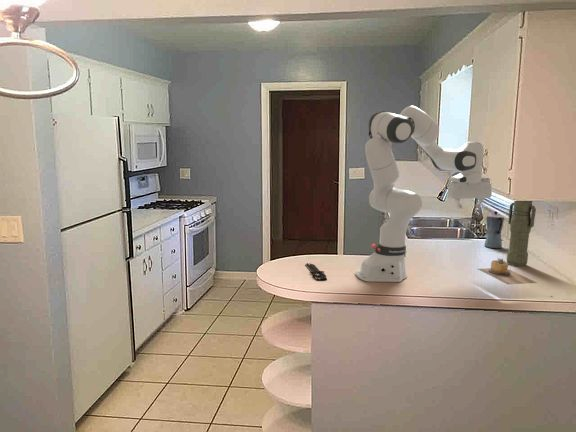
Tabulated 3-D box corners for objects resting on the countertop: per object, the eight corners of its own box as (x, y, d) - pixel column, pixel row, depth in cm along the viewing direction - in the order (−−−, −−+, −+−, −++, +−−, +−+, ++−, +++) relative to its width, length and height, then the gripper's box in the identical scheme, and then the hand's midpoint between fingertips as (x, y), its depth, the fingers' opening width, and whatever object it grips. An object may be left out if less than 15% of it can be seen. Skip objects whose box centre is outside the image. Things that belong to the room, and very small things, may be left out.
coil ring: (496, 273, 213) (497, 264, 212) (488, 269, 219) (488, 260, 218) (510, 272, 214) (511, 264, 213) (501, 268, 220) (501, 260, 220)
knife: (304, 264, 231) (304, 261, 231) (318, 264, 232) (318, 261, 232) (313, 281, 206) (313, 278, 205) (328, 281, 206) (328, 278, 206)
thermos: (525, 271, 224) (533, 196, 217) (500, 265, 232) (507, 193, 226) (533, 267, 229) (541, 195, 223) (508, 262, 238) (515, 192, 232)
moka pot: (495, 243, 276) (499, 209, 272) (508, 250, 260) (512, 214, 257) (479, 243, 275) (482, 209, 271) (491, 250, 260) (494, 214, 256)
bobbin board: (507, 287, 200) (509, 270, 199) (477, 272, 221) (478, 256, 220) (537, 285, 203) (538, 268, 201) (504, 270, 224) (505, 255, 223)
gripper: (487, 177, 223) (485, 206, 225) (447, 177, 219) (444, 207, 221) (495, 178, 216) (493, 208, 219) (454, 178, 212) (452, 209, 215)
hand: (468, 208), depth 220 cm, fingers open, 8 cm apart
